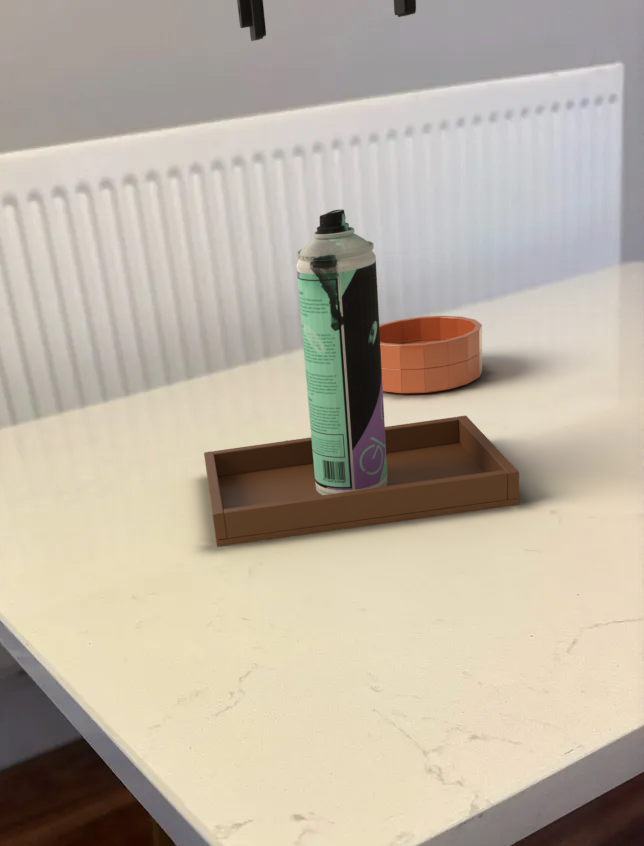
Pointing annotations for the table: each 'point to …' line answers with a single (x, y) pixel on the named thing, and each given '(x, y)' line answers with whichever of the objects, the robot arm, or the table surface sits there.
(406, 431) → the tray
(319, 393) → the spray can
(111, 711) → the table surface
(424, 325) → the bowl
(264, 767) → the table surface
